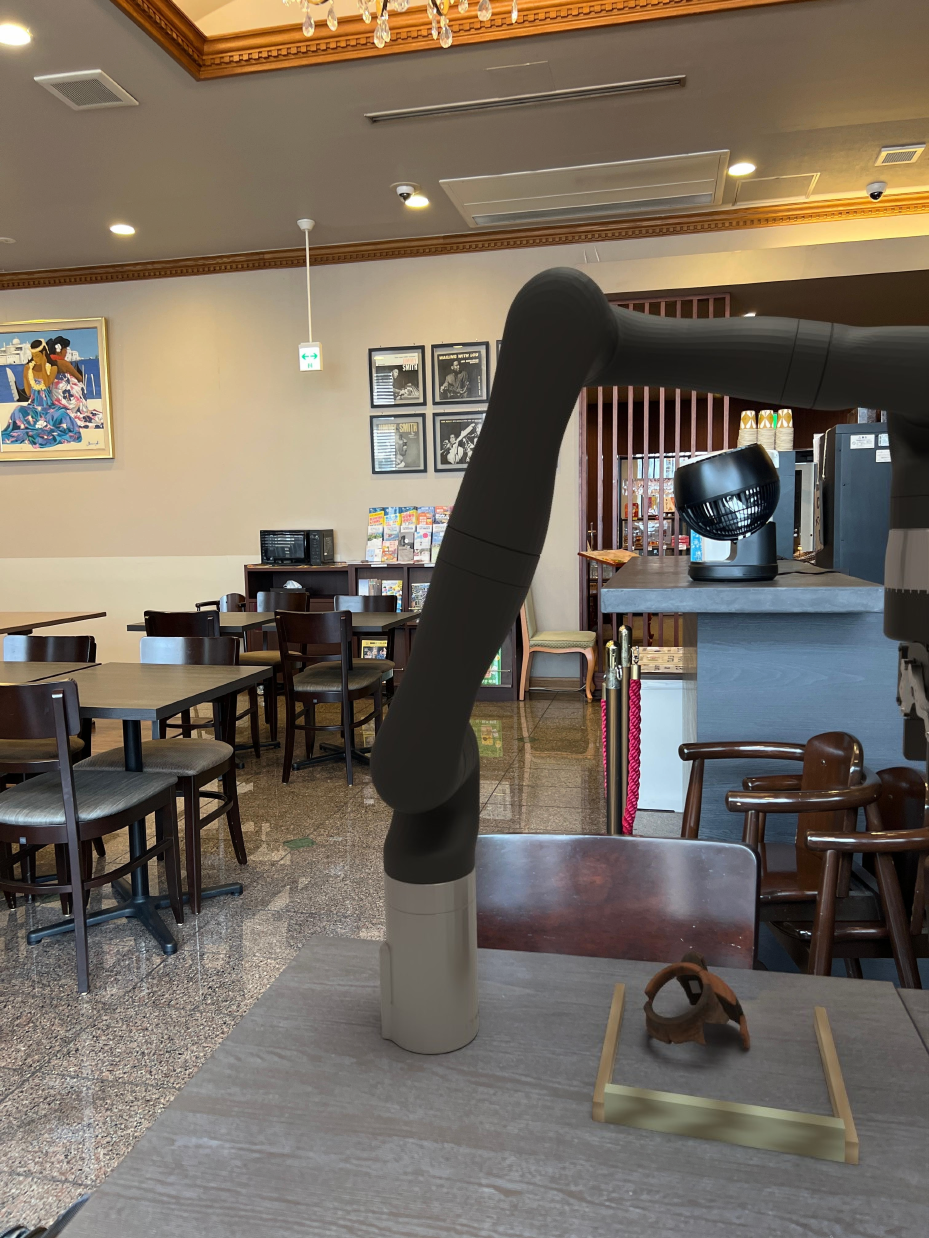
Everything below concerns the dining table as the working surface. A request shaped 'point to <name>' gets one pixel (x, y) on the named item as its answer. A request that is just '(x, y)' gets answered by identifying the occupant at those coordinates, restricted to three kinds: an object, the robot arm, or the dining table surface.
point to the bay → (730, 1106)
